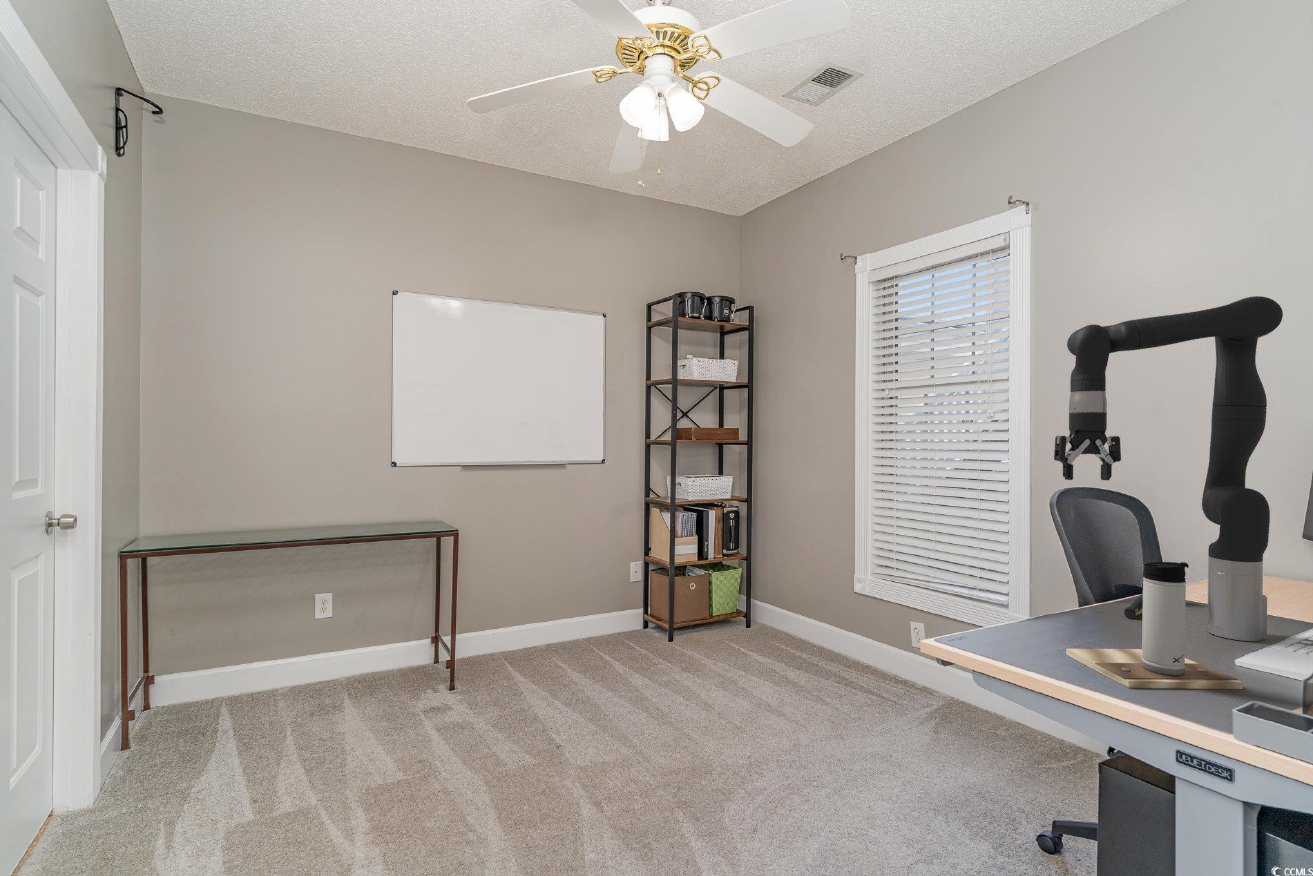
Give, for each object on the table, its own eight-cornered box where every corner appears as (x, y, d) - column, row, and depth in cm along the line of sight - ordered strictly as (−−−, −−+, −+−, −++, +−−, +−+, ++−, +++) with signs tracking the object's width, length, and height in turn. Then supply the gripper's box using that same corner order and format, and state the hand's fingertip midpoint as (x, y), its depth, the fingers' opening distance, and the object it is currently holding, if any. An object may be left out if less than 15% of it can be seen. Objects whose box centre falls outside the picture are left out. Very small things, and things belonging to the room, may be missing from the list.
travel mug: (1189, 679, 118) (1191, 566, 118) (1143, 671, 122) (1144, 562, 122) (1184, 668, 124) (1186, 560, 123) (1140, 661, 127) (1141, 556, 127)
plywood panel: (1164, 655, 135) (1165, 647, 135) (1242, 689, 117) (1242, 679, 117) (1066, 654, 135) (1066, 646, 135) (1128, 688, 117) (1128, 679, 117)
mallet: (1144, 622, 160) (1144, 582, 160) (1115, 617, 165) (1115, 578, 165) (1173, 603, 179) (1173, 567, 179) (1146, 599, 184) (1146, 564, 184)
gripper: (1067, 410, 154) (1066, 481, 154) (1129, 410, 153) (1128, 481, 154) (1048, 411, 161) (1047, 478, 161) (1107, 412, 161) (1106, 479, 161)
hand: (1087, 480), depth 157 cm, fingers open, 8 cm apart
